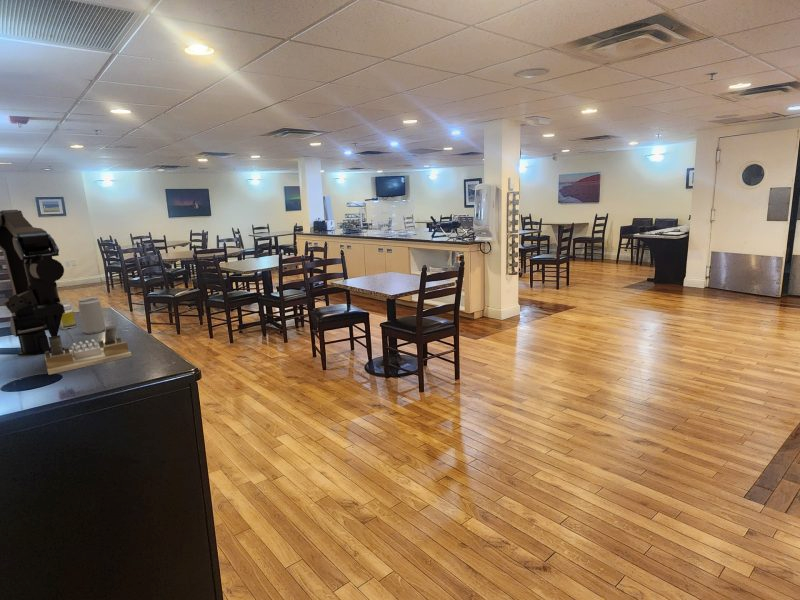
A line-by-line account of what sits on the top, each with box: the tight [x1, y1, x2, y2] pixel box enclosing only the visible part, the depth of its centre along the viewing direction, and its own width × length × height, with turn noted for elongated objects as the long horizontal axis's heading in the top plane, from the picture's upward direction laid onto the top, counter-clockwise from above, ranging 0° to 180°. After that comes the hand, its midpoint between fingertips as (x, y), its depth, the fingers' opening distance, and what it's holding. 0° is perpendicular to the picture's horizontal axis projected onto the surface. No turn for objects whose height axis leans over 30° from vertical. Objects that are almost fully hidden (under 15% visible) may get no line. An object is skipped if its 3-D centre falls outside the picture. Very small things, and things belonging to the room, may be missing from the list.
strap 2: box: [103, 324, 117, 345], centre depth 139 cm, size 12×3×1 cm
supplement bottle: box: [59, 304, 77, 330], centre depth 175 cm, size 5×5×8 cm
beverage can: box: [77, 296, 106, 335], centre depth 165 cm, size 6×6×12 cm
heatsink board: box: [43, 336, 132, 376], centre depth 135 cm, size 20×19×4 cm
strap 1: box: [48, 334, 64, 356], centre depth 131 cm, size 12×3×1 cm
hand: (54, 337), depth 127 cm, fingers closed
